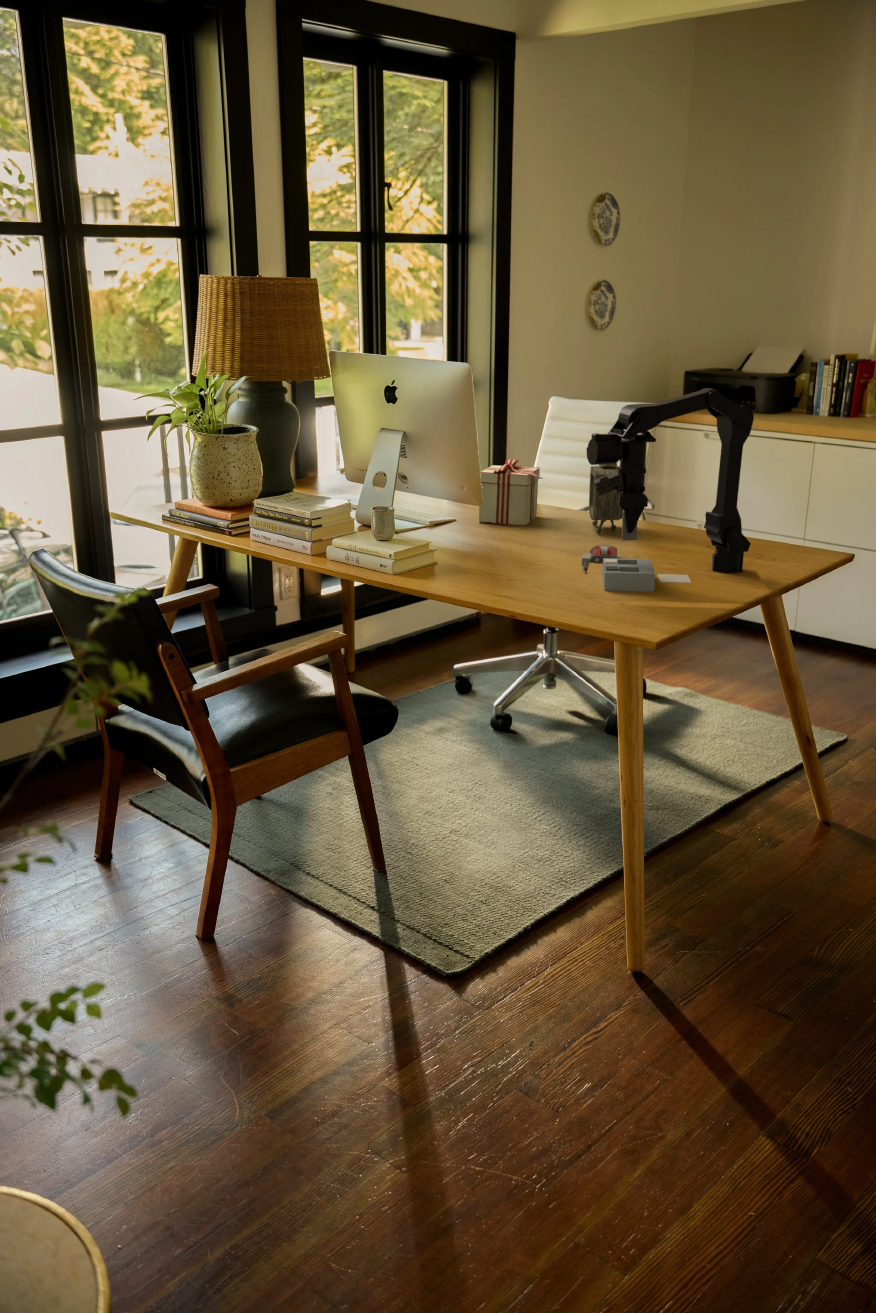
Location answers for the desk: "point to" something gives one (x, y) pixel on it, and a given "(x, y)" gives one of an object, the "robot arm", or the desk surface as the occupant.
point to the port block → (628, 574)
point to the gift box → (509, 494)
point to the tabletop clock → (603, 498)
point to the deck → (673, 578)
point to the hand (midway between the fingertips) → (629, 531)
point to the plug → (624, 530)
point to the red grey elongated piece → (598, 555)
